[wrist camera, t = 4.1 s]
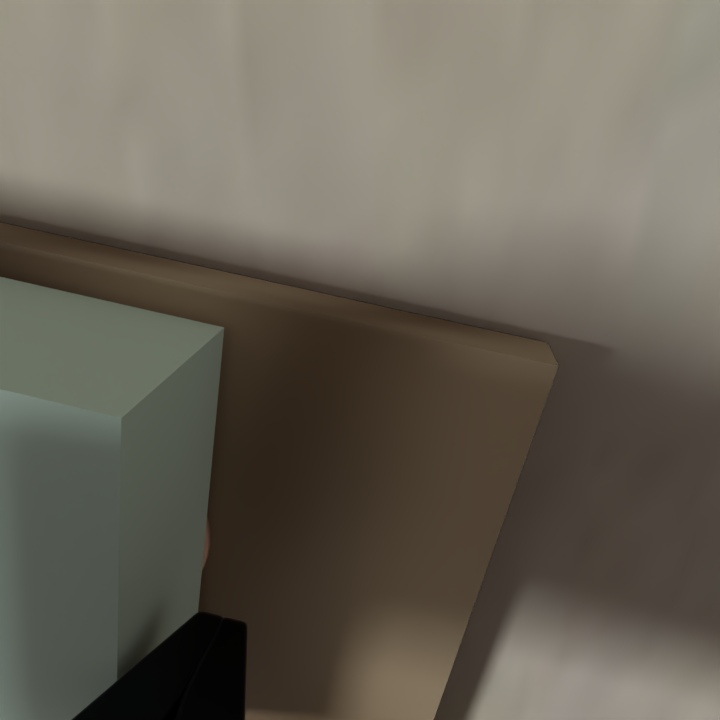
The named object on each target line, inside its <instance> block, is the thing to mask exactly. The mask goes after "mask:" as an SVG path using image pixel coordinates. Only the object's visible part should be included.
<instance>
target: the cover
mask: <svg viewBox="0 0 720 720" xmlns="http://www.w3.org/2000/svg"><path fill="white" fill-rule="evenodd" d="M223 337H224V327H220V326H216V325H211V324H207V323H202V322H198V321H194V320H189V319H185V318H180V317H176V316H171V315H167V314H163V313H158V312H154V311H149V310H145V309H141V308H136V307H132V306H127V305H123V304H119V303H114V302H110V301H105V300H101V299H96V298H92V297H88V296H83V295H79V294H74V293H70V292H66V291H61V290H57V289H52V288H48V287H44V286H39V285H35V284H30V283H26V282H21V281H17V280H13V279H8V278H4V277H0V720H71V719H73V718H74V717H75V716H76V715H77V714H79V713H80V712H81V711H82V710H83V709H84V708H86V707H87V706H88V705H89V704H90V703H91V702H93V701H94V700H95V699H96V698H97V697H98V696H100V695H101V694H102V693H103V692H104V691H105V690H107V689H108V688H109V687H110V686H111V685H113V684H114V683H115V682H116V681H117V680H118V679H120V678H121V677H122V676H123V675H124V674H125V673H127V672H128V671H129V670H130V669H131V668H132V667H134V666H135V665H136V664H137V663H138V662H139V661H141V660H142V659H143V658H144V657H145V656H146V655H148V654H149V653H150V652H151V651H152V650H154V649H155V648H156V647H157V646H158V645H159V644H161V643H162V642H163V641H164V640H165V639H166V638H168V637H169V636H170V635H171V634H172V633H173V632H175V631H176V630H177V629H178V628H179V627H180V626H182V625H183V624H184V623H185V622H186V621H188V620H189V619H190V618H191V617H192V616H193V615H195V614H196V613H197V612H198V607H199V597H200V586H201V575H202V564H203V553H204V542H205V532H206V521H207V510H208V499H209V488H210V478H211V467H212V456H213V445H214V434H215V423H216V413H217V402H218V391H219V380H220V369H221V358H222V348H223Z"/></svg>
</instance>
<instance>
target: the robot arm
mask: <svg viewBox="0 0 720 720" xmlns="http://www.w3.org/2000/svg"><path fill="white" fill-rule="evenodd" d="M246 670H247V624H246V623H245V622H243V621H239V620H236V619H232V618H228V617H225V618H223V617H222V616H220V615H216V614H212V613H208V612H205V611H200V612H197V613H196V614H195V615H193V616H192V617H191V618H190V619H189V620H188V621H186V622H185V623H184V624H183V625H182V626H180V627H179V628H178V629H177V630H176V631H175V632H173V633H172V634H171V635H170V636H169V637H168V638H166V639H165V640H164V641H163V642H162V643H161V644H159V645H158V646H157V647H156V648H155V649H154V650H152V651H151V652H150V653H149V654H148V655H146V656H145V657H144V658H143V659H142V660H141V661H139V662H138V663H137V664H136V665H135V666H134V667H132V668H131V669H130V670H129V671H128V672H127V673H125V674H124V675H123V676H122V677H121V678H120V679H118V680H117V681H116V682H115V683H114V684H113V685H111V686H110V687H109V688H108V689H107V690H105V691H104V692H103V693H102V694H101V695H100V696H98V697H97V698H96V699H95V700H94V701H93V702H91V703H90V704H89V705H88V706H87V707H86V708H84V709H83V710H82V711H81V712H80V713H79V714H77V715H76V716H75V717H74V718H73V719H71V720H245V714H246Z"/></svg>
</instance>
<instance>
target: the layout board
mask: <svg viewBox="0 0 720 720" xmlns="http://www.w3.org/2000/svg"><path fill="white" fill-rule="evenodd" d="M0 277H4V278H8V279H13V280H17V281H21V282H26V283H30V284H35V285H39V286H44V287H48V288H52V289H57V290H61V291H66V292H70V293H74V294H79V295H83V296H88V297H92V298H96V299H101V300H105V301H110V302H114V303H119V304H123V305H127V306H132V307H136V308H141V309H145V310H149V311H154V312H158V313H163V314H167V315H171V316H176V317H180V318H185V319H189V320H194V321H198V322H202V323H207V324H211V325H216V326H220V327H224V337H223V348H222V358H221V369H220V380H219V391H218V402H217V413H216V423H215V434H214V445H213V456H212V467H211V478H210V488H209V499H208V510H207V521H206V532H205V542H204V553H203V564H202V575H201V586H200V597H199V607H198V612H200V611H205V612H208V613H212V614H216V615H220V616H222V617H223V618H225V617H228V618H232V619H236V620H239V621H243V622H245V623H246V624H247V670H246V714H245V720H434V717H435V715H436V712H437V709H438V706H439V703H440V700H441V698H442V695H443V692H444V689H445V686H446V683H447V681H448V678H449V675H450V672H451V669H452V666H453V664H454V661H455V658H456V655H457V652H458V649H459V647H460V644H461V641H462V638H463V635H464V632H465V630H466V627H467V624H468V621H469V618H470V616H471V613H472V610H473V607H474V604H475V601H476V599H477V596H478V593H479V590H480V587H481V584H482V582H483V579H484V576H485V573H486V570H487V567H488V565H489V562H490V559H491V556H492V553H493V550H494V548H495V545H496V542H497V539H498V536H499V533H500V531H501V528H502V525H503V522H504V519H505V516H506V514H507V511H508V508H509V505H510V502H511V500H512V497H513V494H514V491H515V488H516V485H517V483H518V480H519V477H520V474H521V471H522V468H523V466H524V463H525V460H526V457H527V454H528V451H529V449H530V446H531V443H532V440H533V437H534V434H535V432H536V429H537V426H538V423H539V420H540V417H541V415H542V412H543V409H544V406H545V403H546V400H547V398H548V395H549V392H550V389H551V386H552V384H553V381H554V378H555V375H556V372H557V369H558V367H559V366H558V364H557V361H556V359H555V357H554V355H553V353H552V351H551V349H550V346H549V344H548V343H546V342H542V341H537V340H533V339H528V338H523V337H519V336H514V335H510V334H505V333H501V332H496V331H492V330H487V329H483V328H478V327H473V326H469V325H464V324H460V323H455V322H451V321H446V320H442V319H437V318H433V317H428V316H424V315H419V314H414V313H410V312H405V311H401V310H396V309H392V308H387V307H383V306H378V305H374V304H369V303H365V302H360V301H355V300H351V299H346V298H342V297H337V296H333V295H328V294H324V293H319V292H315V291H310V290H306V289H301V288H296V287H292V286H287V285H283V284H278V283H274V282H269V281H265V280H260V279H256V278H251V277H247V276H242V275H237V274H233V273H228V272H224V271H219V270H215V269H210V268H206V267H201V266H197V265H192V264H188V263H183V262H178V261H174V260H169V259H165V258H160V257H156V256H151V255H147V254H142V253H138V252H133V251H129V250H124V249H119V248H115V247H110V246H106V245H101V244H97V243H92V242H88V241H83V240H79V239H74V238H69V237H65V236H60V235H56V234H51V233H47V232H42V231H38V230H33V229H29V228H24V227H20V226H15V225H10V224H6V223H1V222H0Z"/></svg>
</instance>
